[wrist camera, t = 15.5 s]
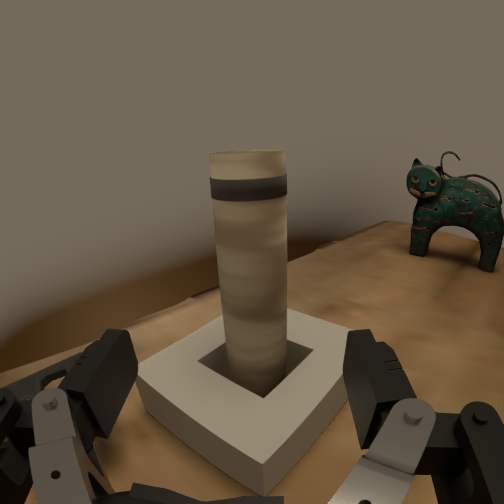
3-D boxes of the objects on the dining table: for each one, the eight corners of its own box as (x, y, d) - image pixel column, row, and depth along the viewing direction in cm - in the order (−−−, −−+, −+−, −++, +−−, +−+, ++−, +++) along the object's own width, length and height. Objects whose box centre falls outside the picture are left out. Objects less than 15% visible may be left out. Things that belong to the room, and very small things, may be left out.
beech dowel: (255, 376, 28) (243, 149, 21) (296, 395, 25) (300, 149, 19) (221, 403, 25) (192, 155, 18) (263, 428, 22) (252, 153, 15)
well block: (254, 335, 35) (252, 296, 33) (362, 377, 27) (371, 335, 25) (145, 409, 24) (130, 368, 22) (264, 497, 16) (262, 464, 14)
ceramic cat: (399, 254, 55) (406, 146, 48) (407, 244, 60) (413, 146, 53) (496, 277, 43) (512, 162, 36) (496, 265, 47) (509, 160, 40)
